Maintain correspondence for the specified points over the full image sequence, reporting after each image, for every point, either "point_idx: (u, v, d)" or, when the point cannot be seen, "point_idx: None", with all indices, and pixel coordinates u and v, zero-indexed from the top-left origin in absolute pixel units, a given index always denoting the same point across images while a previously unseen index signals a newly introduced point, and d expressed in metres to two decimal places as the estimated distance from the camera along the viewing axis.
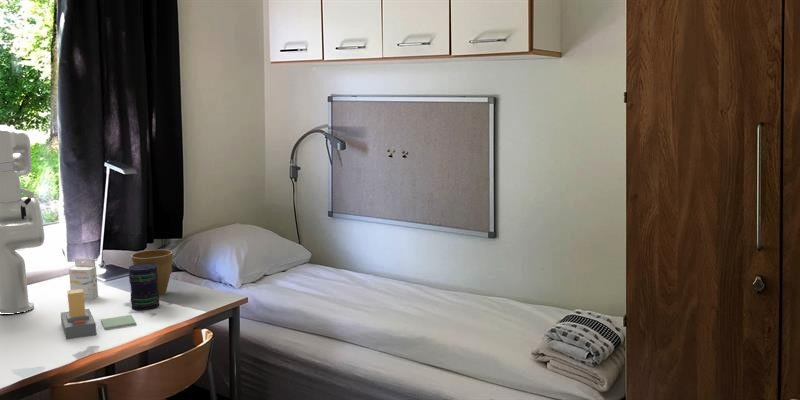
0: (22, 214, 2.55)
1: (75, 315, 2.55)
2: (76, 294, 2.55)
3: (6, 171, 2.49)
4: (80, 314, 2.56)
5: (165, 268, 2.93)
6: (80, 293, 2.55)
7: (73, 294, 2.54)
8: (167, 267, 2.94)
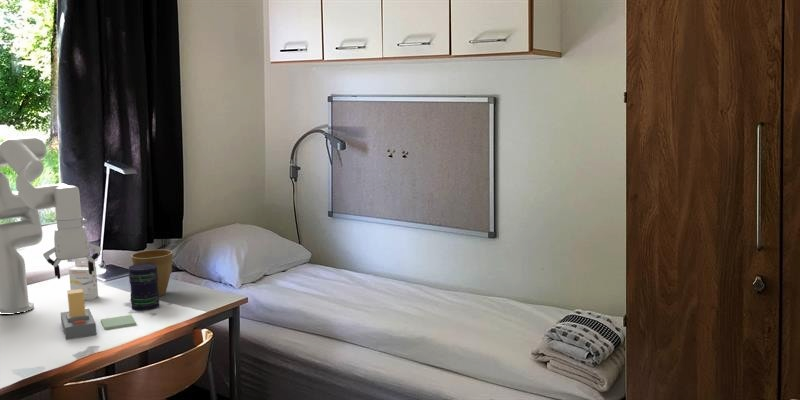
0: (90, 269, 2.56)
1: (75, 315, 2.55)
2: (76, 294, 2.55)
3: (75, 228, 2.50)
4: (80, 314, 2.56)
5: (165, 268, 2.93)
6: (80, 293, 2.55)
7: (73, 294, 2.54)
8: (167, 267, 2.94)
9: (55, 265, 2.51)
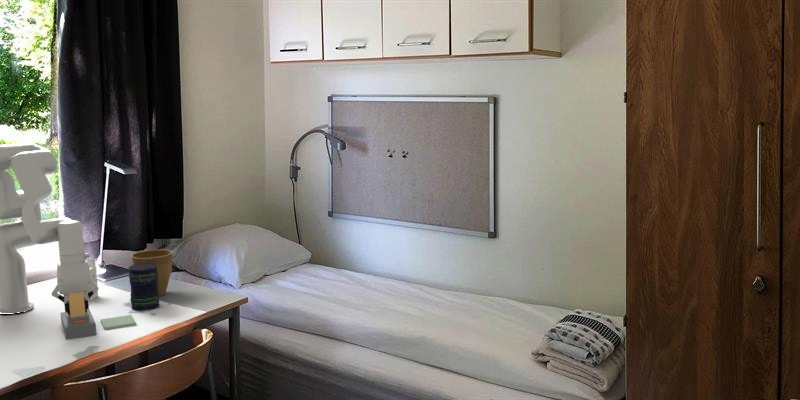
0: (85, 307, 2.57)
1: (75, 315, 2.55)
2: (76, 294, 2.55)
3: (78, 263, 2.52)
4: (80, 314, 2.56)
5: (165, 268, 2.93)
6: (80, 293, 2.55)
7: (73, 294, 2.54)
8: (167, 267, 2.94)
9: (65, 301, 2.54)
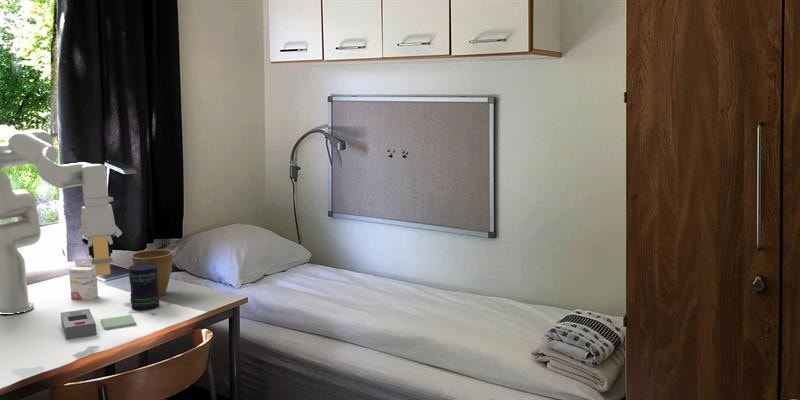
0: (109, 251, 2.58)
1: (99, 258, 2.56)
2: (100, 237, 2.55)
3: (102, 205, 2.53)
4: (104, 257, 2.57)
5: (165, 268, 2.93)
6: (104, 236, 2.56)
7: (97, 237, 2.55)
8: (167, 267, 2.94)
9: (90, 245, 2.55)
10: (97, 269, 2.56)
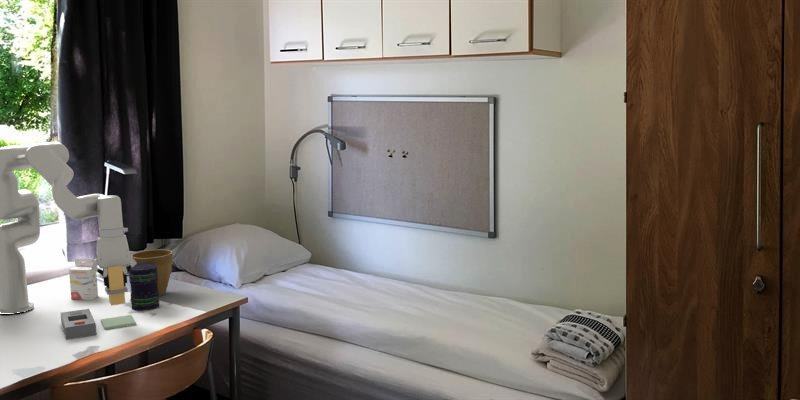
0: (124, 281, 2.62)
1: (114, 288, 2.60)
2: (115, 268, 2.59)
3: (117, 237, 2.57)
4: (119, 287, 2.60)
5: (165, 268, 2.93)
6: (119, 267, 2.60)
7: (112, 268, 2.59)
8: (167, 267, 2.94)
9: (105, 275, 2.59)
10: (112, 299, 2.60)
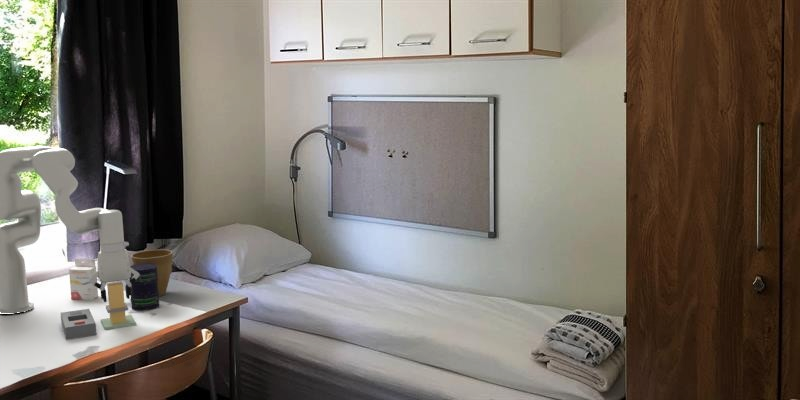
0: (128, 294, 2.63)
1: (115, 307, 2.61)
2: (116, 286, 2.60)
3: (118, 251, 2.58)
4: (120, 306, 2.61)
5: (165, 268, 2.93)
6: (120, 285, 2.61)
7: (113, 286, 2.60)
8: (167, 267, 2.94)
9: (102, 289, 2.59)
10: (113, 317, 2.61)
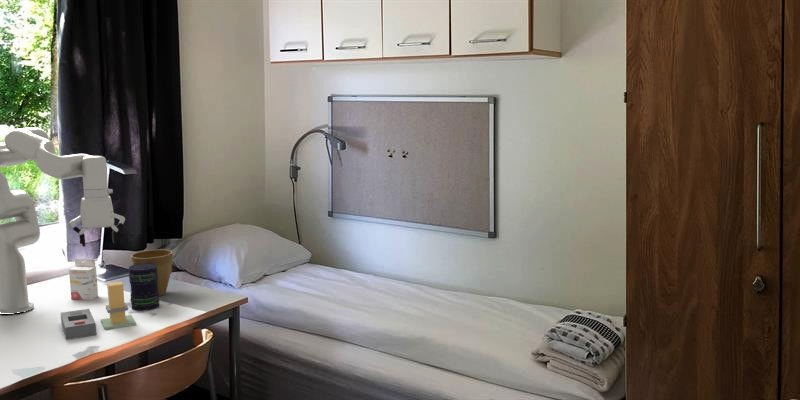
0: (114, 238, 2.61)
1: (115, 307, 2.61)
2: (116, 286, 2.60)
3: (102, 197, 2.56)
4: (120, 306, 2.61)
5: (165, 268, 2.93)
6: (120, 285, 2.61)
7: (113, 286, 2.60)
8: (167, 267, 2.94)
9: (81, 233, 2.56)
10: (113, 317, 2.61)
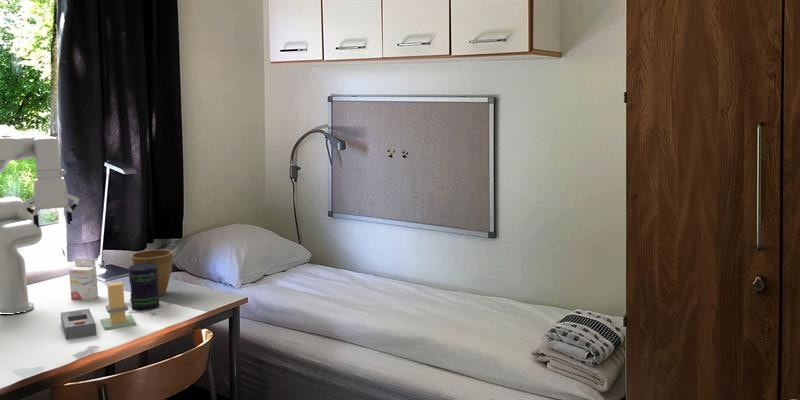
0: (68, 219, 2.63)
1: (115, 307, 2.61)
2: (116, 286, 2.60)
3: (54, 178, 2.58)
4: (120, 306, 2.61)
5: (165, 268, 2.93)
6: (120, 285, 2.61)
7: (113, 286, 2.60)
8: (167, 267, 2.94)
9: (34, 214, 2.58)
10: (113, 317, 2.61)
